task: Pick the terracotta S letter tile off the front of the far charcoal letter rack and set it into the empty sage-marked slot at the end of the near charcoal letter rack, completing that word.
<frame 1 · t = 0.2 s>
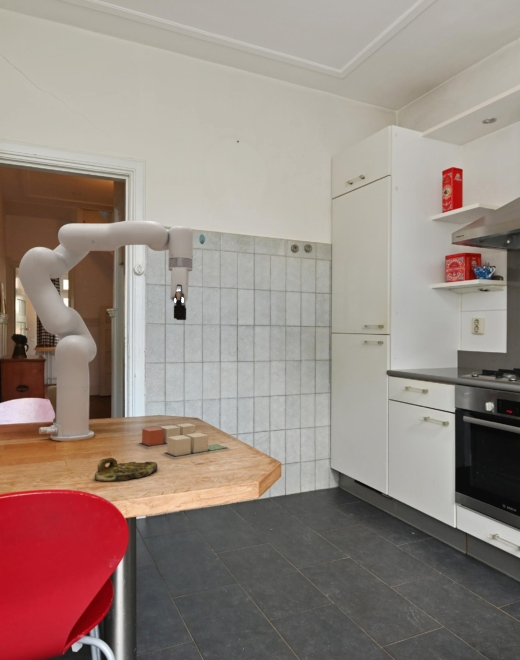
hand: (180, 319, 152), 37 cm above the table, tool pointing down, fingers open, 9 cm apart
left rack: (169, 442, 142), on the table
seal: (127, 475, 108), on the table
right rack: (196, 451, 131), on the table
stone cup: (65, 426, 169), on the table
s tile: (152, 443, 139), resting on left rack
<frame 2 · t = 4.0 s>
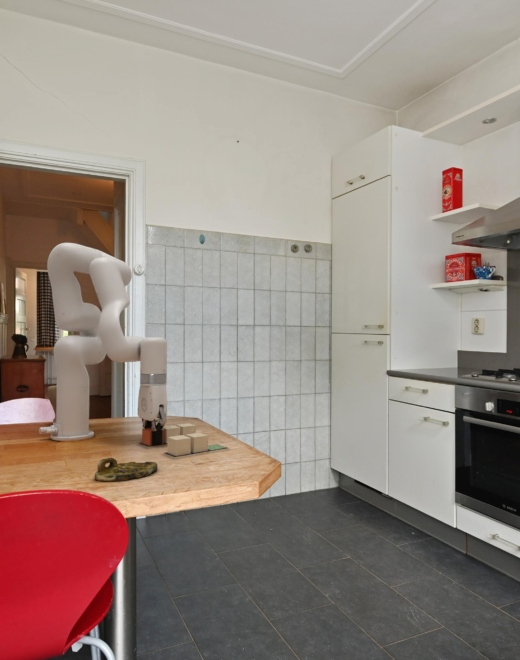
hand: (152, 442, 139), 1 cm above the table, tool pointing down, fingers closed on s tile, 4 cm apart
s tile: (152, 443, 139), resting on left rack, touching gripper
everything else where it was.
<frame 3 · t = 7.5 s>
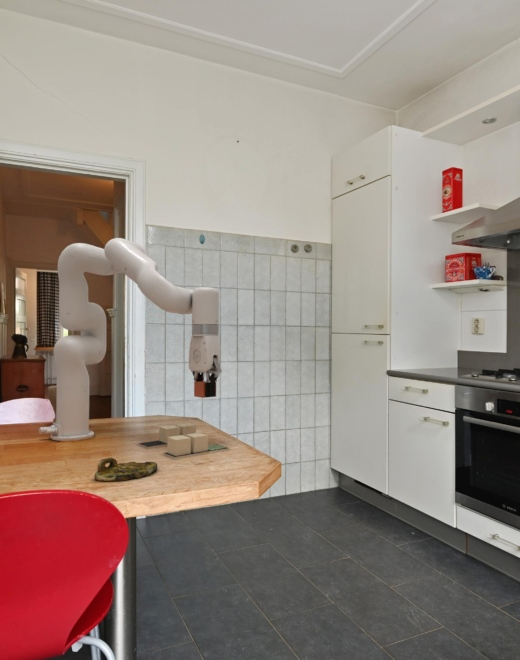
hand: (205, 395, 135), 15 cm above the table, tool pointing down, fingers closed on s tile, 4 cm apart
s tile: (205, 396, 135), point 15 cm above the table, touching gripper
everything else where it was.
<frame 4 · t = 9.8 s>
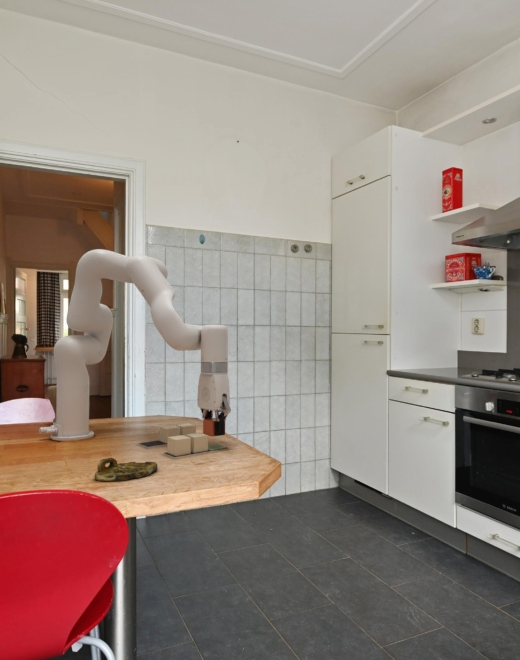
hand: (214, 433, 134), 4 cm above the table, tool pointing down, fingers closed on s tile, 4 cm apart
s tile: (214, 434, 134), point 4 cm above the table, touching gripper
everything else where it was.
when the fingers open (1 cm above the table, at t = 11.2 s): s tile stays where it is, resting on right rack.
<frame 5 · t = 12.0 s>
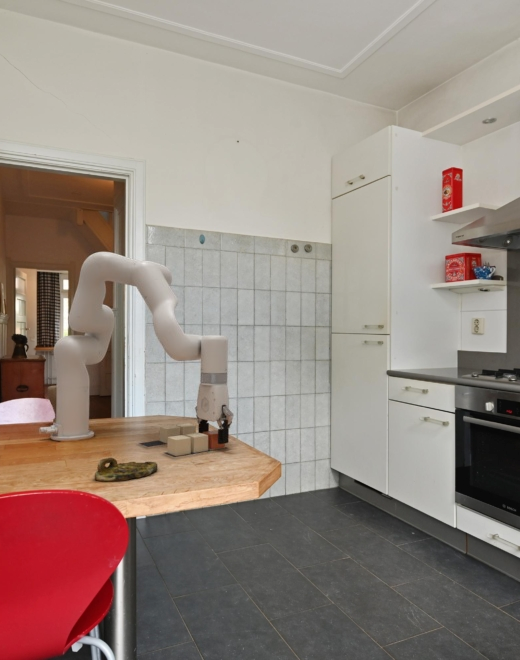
hand: (213, 440, 134), 2 cm above the table, tool pointing down, fingers open, 9 cm apart
s tile: (213, 447, 134), resting on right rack
everything else where it was.
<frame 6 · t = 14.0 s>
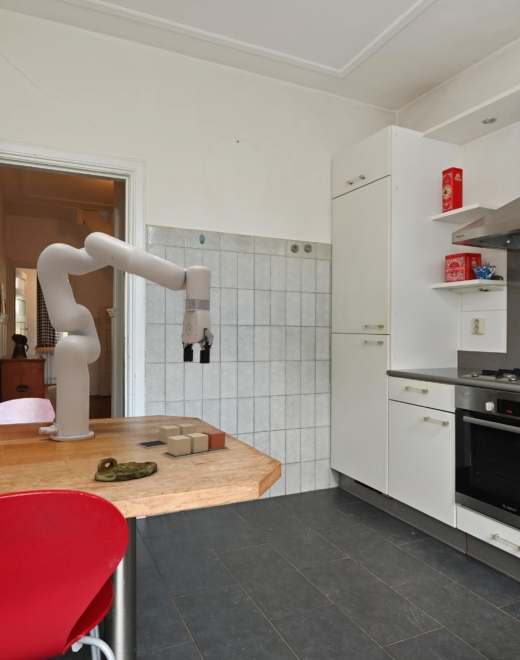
hand: (196, 362, 146), 24 cm above the table, tool pointing down, fingers open, 9 cm apart
nothing on the table moved.
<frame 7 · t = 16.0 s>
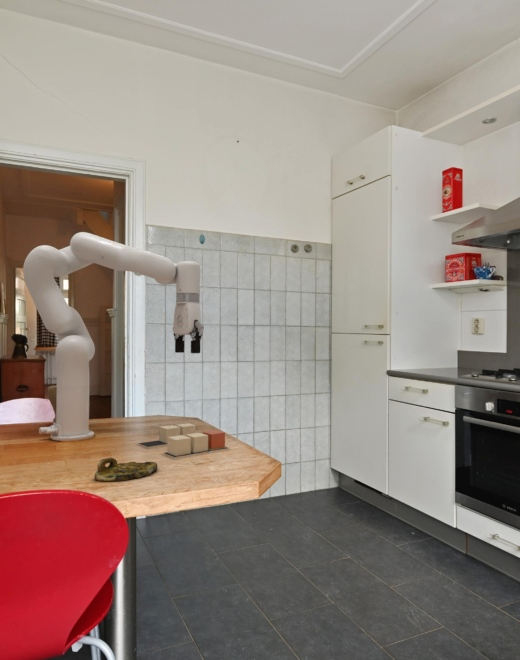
hand: (187, 352, 154), 26 cm above the table, tool pointing down, fingers open, 9 cm apart
nothing on the table moved.
at the end: s tile 0.1 cm from the target spot on the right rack, point 0.5 cm above the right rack's base; s tile tilted 0°; the gripper is holding nothing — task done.
